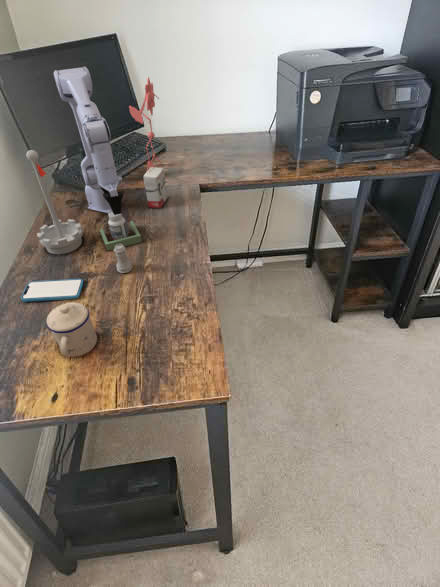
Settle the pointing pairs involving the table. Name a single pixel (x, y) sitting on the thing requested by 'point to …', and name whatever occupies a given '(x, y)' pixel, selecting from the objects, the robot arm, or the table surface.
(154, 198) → the ink box
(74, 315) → the teacup with lid
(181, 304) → the table surface
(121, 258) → the rook chess piece
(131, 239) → the holder
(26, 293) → the smartphone
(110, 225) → the pill bottle
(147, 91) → the figurine
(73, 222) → the flag stand
